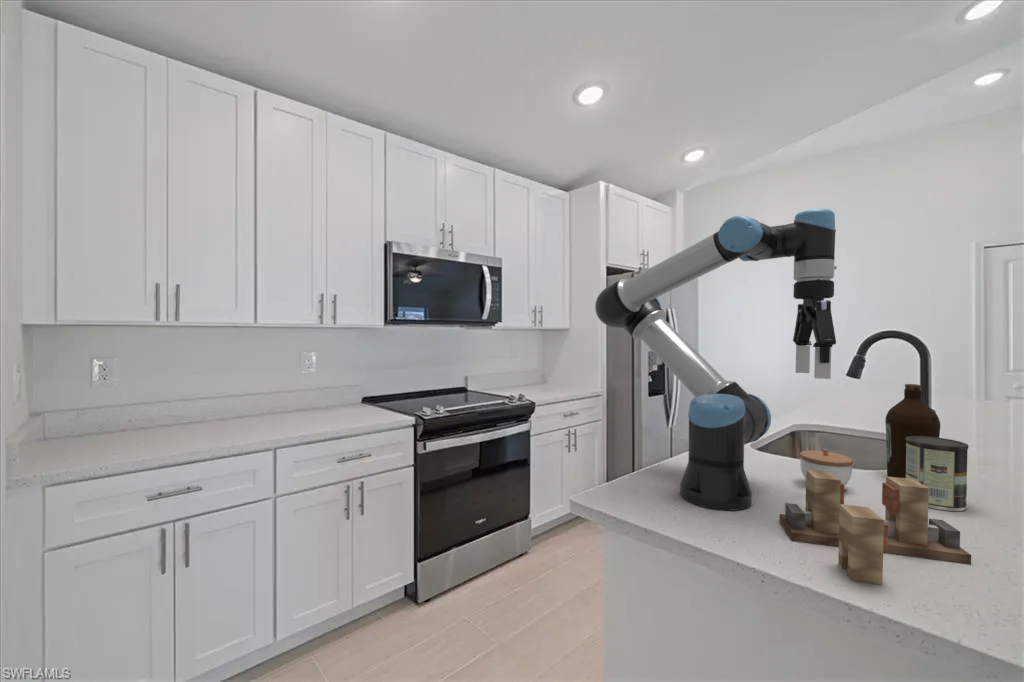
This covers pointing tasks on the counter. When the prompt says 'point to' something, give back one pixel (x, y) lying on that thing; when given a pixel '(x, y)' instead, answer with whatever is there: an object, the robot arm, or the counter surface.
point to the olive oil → (907, 427)
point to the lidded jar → (827, 463)
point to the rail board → (939, 541)
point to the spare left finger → (862, 543)
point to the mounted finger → (824, 500)
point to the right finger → (907, 508)
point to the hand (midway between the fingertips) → (811, 375)
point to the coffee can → (939, 470)
